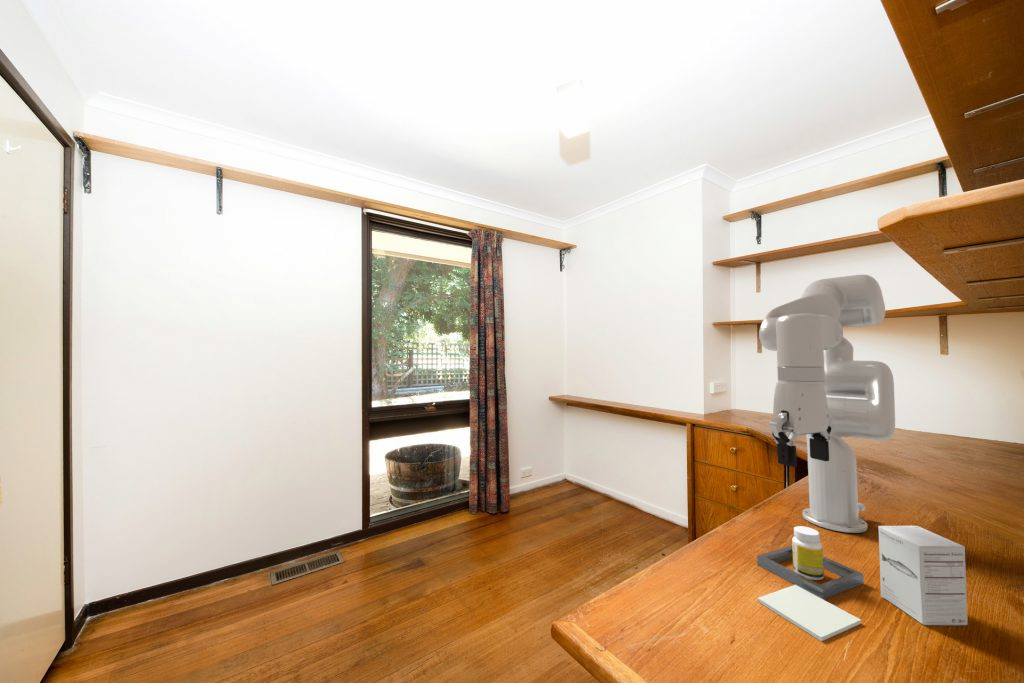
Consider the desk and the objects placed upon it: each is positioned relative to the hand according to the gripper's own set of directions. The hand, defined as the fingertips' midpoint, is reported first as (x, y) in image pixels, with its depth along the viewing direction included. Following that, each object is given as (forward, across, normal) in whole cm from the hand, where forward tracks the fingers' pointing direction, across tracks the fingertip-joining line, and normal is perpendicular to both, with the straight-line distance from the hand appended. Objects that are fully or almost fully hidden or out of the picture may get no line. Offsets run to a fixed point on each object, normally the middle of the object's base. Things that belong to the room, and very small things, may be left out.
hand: (803, 462), depth 75 cm
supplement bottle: (+22, 0, 0) cm, 22 cm away
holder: (+22, 0, 0) cm, 22 cm away
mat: (+22, +12, +7) cm, 26 cm away
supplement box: (+22, -6, +14) cm, 27 cm away
